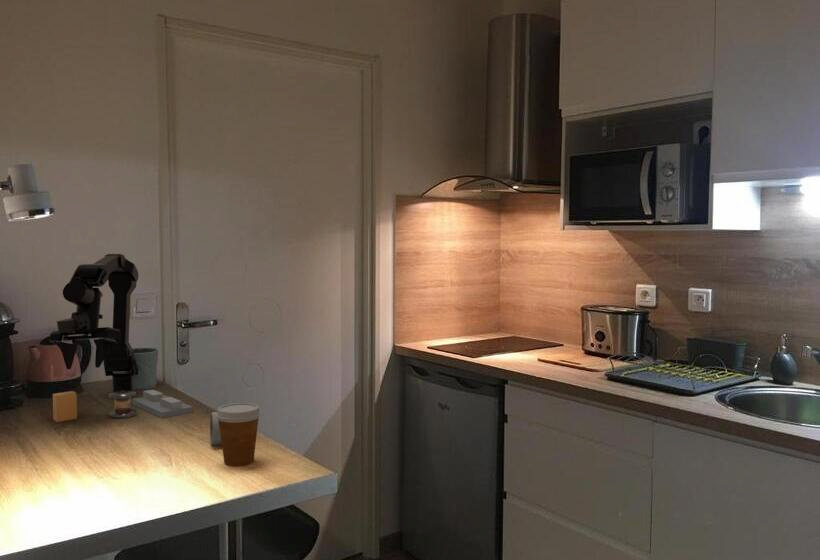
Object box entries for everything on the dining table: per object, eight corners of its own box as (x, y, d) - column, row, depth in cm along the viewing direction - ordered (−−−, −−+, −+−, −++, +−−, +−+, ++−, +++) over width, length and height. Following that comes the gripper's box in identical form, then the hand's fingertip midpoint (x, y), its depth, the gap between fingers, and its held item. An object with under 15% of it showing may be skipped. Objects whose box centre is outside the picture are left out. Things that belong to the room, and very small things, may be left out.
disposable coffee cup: (213, 458, 156) (212, 404, 155) (255, 452, 160) (255, 400, 159) (220, 471, 147) (219, 415, 146) (265, 465, 151) (265, 410, 150)
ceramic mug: (248, 445, 165) (247, 413, 165) (212, 449, 162) (211, 416, 162) (241, 434, 175) (241, 404, 174) (207, 437, 172) (207, 406, 171)
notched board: (132, 404, 204) (132, 392, 203) (162, 399, 210) (162, 387, 209) (161, 417, 189) (161, 405, 189) (192, 412, 195) (192, 399, 195)
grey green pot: (152, 381, 234) (151, 346, 233) (163, 387, 226) (163, 350, 225) (121, 386, 227) (120, 349, 226) (131, 391, 220) (131, 353, 219)
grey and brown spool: (105, 414, 192) (104, 393, 192) (130, 410, 197) (130, 389, 196) (114, 419, 187) (114, 397, 186) (140, 415, 192) (140, 393, 191)
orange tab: (53, 419, 187) (52, 393, 186) (73, 416, 190) (72, 391, 190) (56, 422, 185) (56, 395, 184) (77, 418, 188) (76, 392, 187)
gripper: (36, 307, 183) (29, 366, 180) (95, 301, 178) (90, 363, 174) (68, 314, 194) (62, 371, 190) (125, 309, 188) (120, 367, 185)
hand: (82, 368), depth 184 cm, fingers open, 9 cm apart
